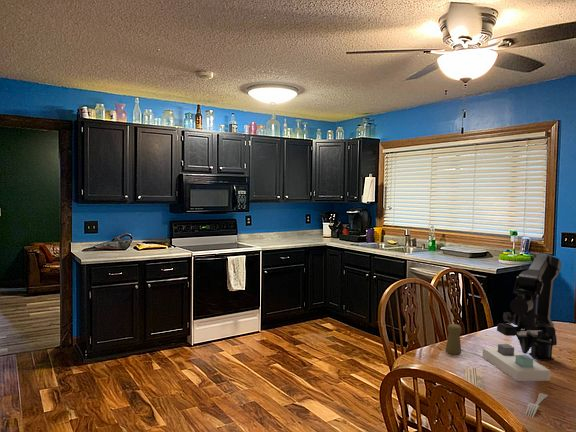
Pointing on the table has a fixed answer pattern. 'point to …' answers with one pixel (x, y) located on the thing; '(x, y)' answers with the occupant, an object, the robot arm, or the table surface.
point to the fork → (540, 398)
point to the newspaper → (474, 376)
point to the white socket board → (516, 366)
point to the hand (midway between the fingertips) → (524, 353)
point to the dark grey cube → (506, 349)
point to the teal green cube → (524, 361)
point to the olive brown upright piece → (453, 339)
